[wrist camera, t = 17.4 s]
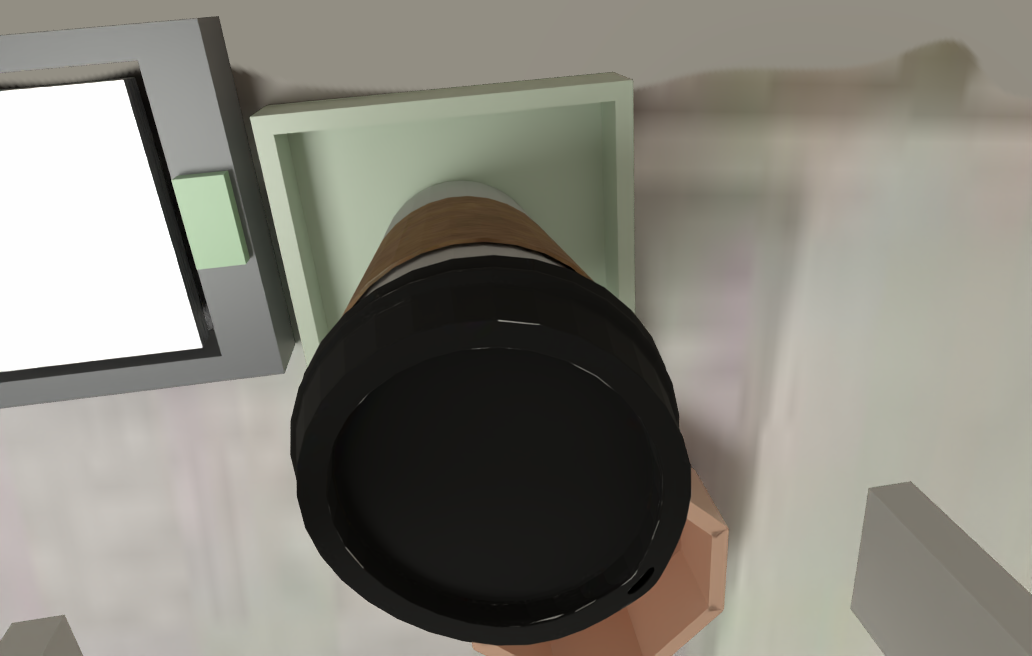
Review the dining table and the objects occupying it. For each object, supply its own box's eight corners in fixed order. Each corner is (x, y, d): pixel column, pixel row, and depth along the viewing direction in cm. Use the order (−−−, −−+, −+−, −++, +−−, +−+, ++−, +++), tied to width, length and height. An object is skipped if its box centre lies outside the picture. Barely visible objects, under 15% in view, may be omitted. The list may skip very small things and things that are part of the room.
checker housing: (-75, 388, 28) (-131, 432, 25) (-239, 55, 22) (-333, 64, 20) (295, 343, 29) (281, 381, 26) (218, 16, 23) (190, 18, 21)
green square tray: (332, 407, 30) (324, 443, 28) (266, 105, 25) (249, 117, 22) (619, 370, 31) (635, 402, 28) (613, 72, 26) (633, 79, 23)
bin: (474, 624, 36) (480, 700, 32) (447, 439, 31) (451, 502, 27) (689, 592, 37) (720, 662, 33) (695, 407, 32) (732, 463, 28)
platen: (-49, 366, 26) (-66, 379, 25) (-171, 105, 22) (-197, 109, 21) (209, 335, 26) (202, 347, 25) (135, 76, 22) (123, 80, 22)
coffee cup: (488, 391, 30) (543, 716, 16) (305, 286, 27) (186, 572, 13) (614, 228, 28) (802, 447, 14) (428, 95, 25) (435, 207, 11)
